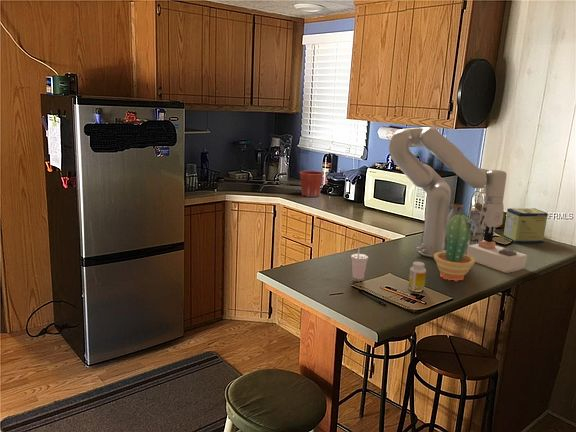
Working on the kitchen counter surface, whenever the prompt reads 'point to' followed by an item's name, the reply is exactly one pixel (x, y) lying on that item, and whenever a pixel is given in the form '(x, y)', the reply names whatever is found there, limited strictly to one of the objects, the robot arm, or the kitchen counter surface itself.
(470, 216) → the coffee box
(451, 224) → the potted cactus
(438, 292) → the kitchen counter surface
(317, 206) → the kitchen counter surface
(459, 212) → the coffee pot
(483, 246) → the terracotta button
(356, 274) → the smoothie
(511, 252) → the charcoal button
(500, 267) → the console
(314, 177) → the flower pot
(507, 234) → the protein box
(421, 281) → the supplement bottle
